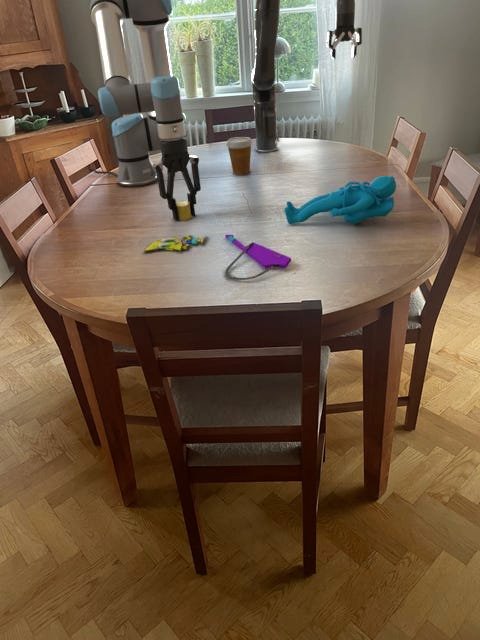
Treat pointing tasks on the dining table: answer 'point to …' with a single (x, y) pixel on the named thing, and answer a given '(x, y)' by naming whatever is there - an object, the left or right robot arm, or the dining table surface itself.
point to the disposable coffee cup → (240, 154)
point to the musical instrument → (259, 257)
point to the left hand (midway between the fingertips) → (184, 216)
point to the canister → (183, 210)
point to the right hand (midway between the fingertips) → (343, 58)
